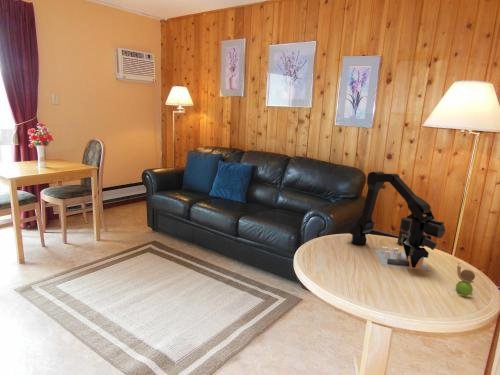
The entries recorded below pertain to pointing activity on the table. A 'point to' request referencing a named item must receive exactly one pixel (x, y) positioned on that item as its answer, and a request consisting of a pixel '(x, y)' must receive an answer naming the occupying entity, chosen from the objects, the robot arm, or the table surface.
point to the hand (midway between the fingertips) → (410, 263)
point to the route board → (403, 257)
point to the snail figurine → (465, 281)
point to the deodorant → (403, 229)
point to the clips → (395, 252)
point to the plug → (405, 262)
